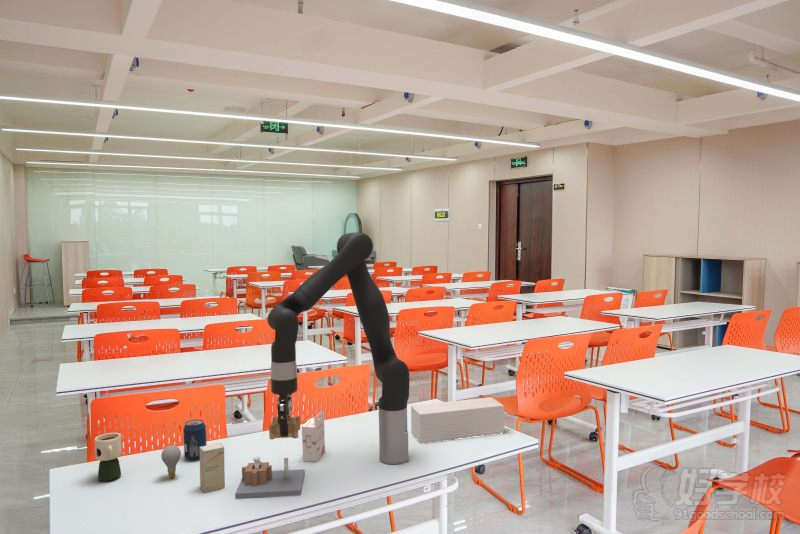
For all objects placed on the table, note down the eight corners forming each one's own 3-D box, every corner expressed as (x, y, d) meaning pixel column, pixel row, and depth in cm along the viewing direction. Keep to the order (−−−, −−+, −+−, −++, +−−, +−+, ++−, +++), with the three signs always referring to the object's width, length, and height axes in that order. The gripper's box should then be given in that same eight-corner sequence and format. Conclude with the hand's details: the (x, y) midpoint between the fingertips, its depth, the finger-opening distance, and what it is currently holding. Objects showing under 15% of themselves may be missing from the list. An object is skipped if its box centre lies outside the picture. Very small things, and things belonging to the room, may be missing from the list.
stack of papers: (491, 424, 213) (491, 397, 212) (504, 434, 202) (503, 405, 202) (411, 434, 204) (410, 405, 203) (420, 444, 194) (419, 414, 193)
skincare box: (203, 493, 159) (202, 451, 158) (199, 487, 163) (198, 446, 162) (225, 487, 162) (224, 446, 162) (221, 481, 166) (220, 442, 165)
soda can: (201, 452, 189) (199, 417, 189) (210, 457, 184) (209, 422, 184) (181, 457, 184) (179, 422, 184) (190, 463, 180) (188, 427, 179)
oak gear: (300, 428, 168) (300, 415, 168) (298, 438, 160) (297, 424, 160) (273, 429, 167) (272, 416, 167) (269, 439, 159) (268, 426, 159)
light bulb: (163, 483, 166) (161, 450, 165) (161, 476, 170) (160, 444, 170) (182, 479, 168) (181, 447, 167) (180, 472, 173) (179, 441, 172)
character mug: (94, 475, 172) (92, 433, 171) (120, 469, 176) (118, 429, 175) (98, 488, 163) (96, 444, 162) (125, 481, 167) (123, 439, 166)
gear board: (304, 473, 171) (304, 448, 170) (300, 495, 157) (299, 467, 156) (244, 477, 169) (243, 450, 169) (235, 498, 155) (234, 470, 155)
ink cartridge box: (311, 451, 189) (310, 408, 188) (325, 452, 188) (324, 409, 187) (302, 461, 180) (300, 416, 179) (316, 462, 179) (315, 417, 178)
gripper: (294, 381, 156) (296, 440, 157) (299, 369, 170) (300, 423, 171) (267, 382, 155) (268, 441, 156) (274, 370, 169) (275, 424, 170)
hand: (285, 432), depth 163 cm, fingers closed on oak gear, 6 cm apart
